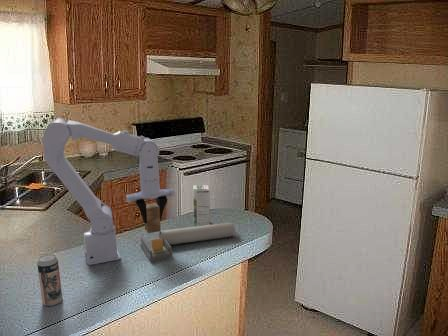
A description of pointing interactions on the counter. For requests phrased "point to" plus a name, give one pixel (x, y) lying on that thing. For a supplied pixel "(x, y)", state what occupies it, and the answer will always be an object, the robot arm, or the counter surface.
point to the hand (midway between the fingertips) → (152, 220)
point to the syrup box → (201, 205)
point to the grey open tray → (156, 254)
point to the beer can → (49, 280)
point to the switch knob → (157, 244)
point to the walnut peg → (152, 218)
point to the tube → (198, 233)
